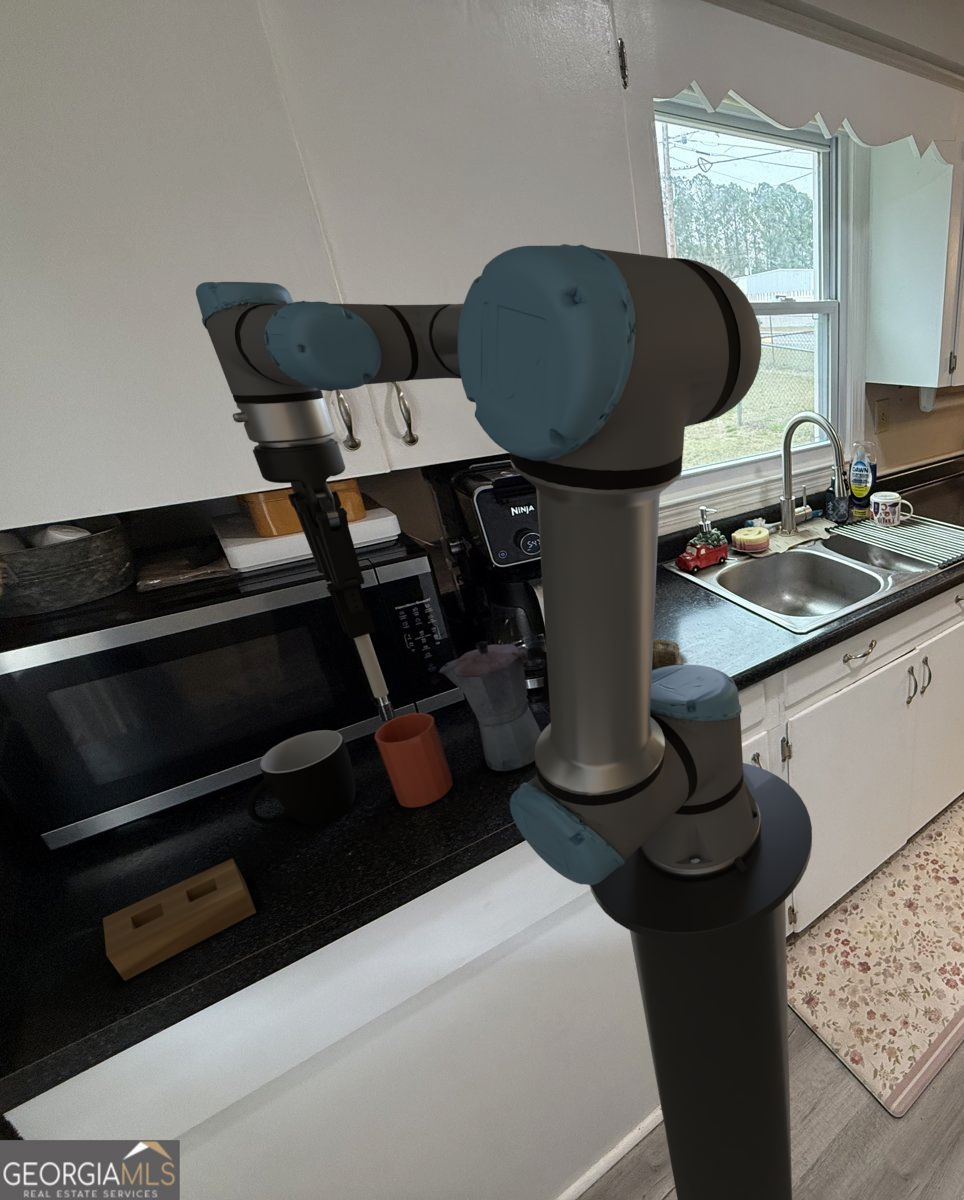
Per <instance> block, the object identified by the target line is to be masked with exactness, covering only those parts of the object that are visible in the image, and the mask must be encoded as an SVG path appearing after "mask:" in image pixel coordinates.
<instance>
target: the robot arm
mask: <svg viewBox="0 0 964 1200" xmlns="http://www.w3.org/2000/svg"><path fill="white" fill-rule="evenodd" d="M195 297H196V299H197V303H198V306H199V310H200V313H201V323H202V326H204V328H205V329H206V331H207V333H208V336H209V339H210V341H211V343H212V346H213V348H214V351H215V354H216V357H217V359H218V362H219V364H220V367H221V369H222V372H223V375H224V377H225V380H226V383H227V385H228V388H229V391H230V393H231V395H232V398H233V402H234V403H235V405H236V408H237V409H238V410H240V412H235V413H233V414H232V418H233V421H234V422H235V423H239V424H241V423H243V427H244V430H245V433H246V435H247V438H248V440H249V441H251V442H253V443H257V445H255V446H254V447H253V449H252V453H253V456H254V458H255V461H256V465H257V466H258V470H259V472H260V474H261V477H262V478H263V479H264V480H265V481H266V482H270V483H275V484H290V486H291V490H292V492H293V493H288V494H287V498H288V500H289V504H290V505H291V507H293V509H294V511H295V514H296V516H297V518H298V521H299V524H300V526H301V528H302V531H303V534H304V536H305V539H306V541H307V544H308V547H309V549H310V552H311V555H312V557H313V558H314V562H315V565H316V570H317V572H318V573H319V574H322V578H323V580H325V582H326V583H327V584H326V587H325V588H326V590H327V592H328V593H329V594H330V598H331V600H332V603H333V605H334V609H335V611H336V614H337V616H338V617H337V618H338V619H339V623H340V625H341V628H342V631H343V633H344V634H347V635H348V638H349V639H350V640H354V638H357V637H360V636H363V635H366V634H369V635H370V634H372V633H376V632H377V631H376V627H375V624H374V620H373V617H372V615H371V612H370V608H369V605H368V603H367V600H366V597H365V593H364V591H363V587H362V585H364V584H365V578H364V575H363V573H362V569H361V566H360V562H359V559H358V555H357V552H356V548H355V545H354V541H353V538H352V533H351V530H350V526H349V521H348V512H347V510H346V509H345V508H344V507H342V501H341V498H340V496H339V494H338V491H332V489H331V487H330V485H329V484H328V481H327V480H328V479H329V478H331V477H336V476H339V475H342V474H343V473H344V472H345V470H346V464H345V462H344V458H343V455H342V452H341V448H340V445H339V442H338V441H336V439H334V438H331V437H332V435H334V433H335V432H336V431H335V428H334V425H333V422H332V419H331V415H330V412H329V409H328V406H327V402H326V399H325V396H324V395H323V392H322V391H325V392H333V391H337V390H339V391H343V390H352V389H357V388H360V387H363V386H366V385H375V384H387V383H397V382H398V383H399V382H409V381H418V380H420V381H421V380H437V379H459V380H461V384H462V387H463V390H464V394H465V396H466V399H467V400H468V401H469V402H471V403H475V410H474V417H475V419H476V421H477V422H478V424H479V426H480V427H481V428H482V430H483V431H484V432H485V434H486V435H487V436H488V438H490V440H492V442H494V443H495V444H496V445H497V446H498V447H500V448H501V449H503V450H504V451H505V452H508V453H509V459H510V464H511V467H512V468H513V470H515V472H516V473H518V474H519V475H520V476H521V477H522V478H524V480H526V481H528V483H530V484H531V485H533V486H534V488H535V489H536V502H537V503H536V504H537V519H538V534H539V535H538V536H539V548H540V549H539V552H540V554H539V555H540V567H541V568H540V569H541V585H542V600H543V601H542V602H543V616H544V617H543V618H544V633H545V652H547V668H548V684H549V699H548V701H549V716H550V723H548V724H547V726H546V727H545V728H544V729H543V730H542V731H541V734H540V736H539V738H538V740H537V743H536V746H535V761H534V766H535V775H534V777H533V778H532V779H531V780H529V781H528V782H526V781H525V782H523V783H521V784H520V785H519V787H518V789H516V790H515V791H514V792H513V793H512V794H511V797H510V798H509V811H510V814H511V817H512V819H513V822H514V824H515V826H516V827H517V829H518V831H519V833H520V834H521V836H522V837H523V838H524V840H525V841H526V842H527V844H528V845H529V846H530V848H531V849H532V850H533V852H535V853H536V854H537V855H538V856H539V858H541V859H542V860H543V862H544V863H546V864H547V865H548V866H549V867H550V868H551V869H552V870H554V871H555V872H556V873H558V874H559V875H561V876H562V877H563V878H565V879H567V880H569V881H571V882H573V883H576V884H578V885H586V886H589V885H593V884H597V883H599V882H601V881H602V880H604V879H605V878H606V877H607V876H608V875H609V874H611V873H612V872H613V871H614V870H615V869H616V868H618V867H621V866H622V865H624V863H625V861H626V860H627V859H628V858H629V857H630V856H631V855H632V854H633V853H634V852H635V851H636V850H637V849H638V848H639V847H640V848H641V852H642V855H643V857H644V859H645V861H646V862H647V864H648V865H649V866H650V867H651V868H652V869H653V870H655V871H656V872H658V873H659V874H661V875H663V876H665V877H668V878H671V879H674V880H679V881H704V880H709V879H713V878H716V877H719V876H722V875H724V874H727V873H729V872H731V871H732V870H734V869H736V868H738V870H739V871H740V873H741V874H744V873H745V872H746V871H747V870H748V869H747V867H746V866H745V864H744V862H745V861H746V860H747V859H748V858H749V857H750V855H751V854H752V853H753V851H754V850H755V848H756V846H757V844H758V841H759V838H760V833H761V824H760V812H759V808H758V806H757V804H756V802H755V800H754V798H753V796H752V794H751V792H750V790H749V788H748V786H747V784H746V782H745V780H744V776H743V763H744V760H743V759H744V758H743V740H742V738H743V737H742V719H741V714H742V706H741V704H740V698H739V689H738V687H737V685H736V683H735V681H734V680H733V678H731V676H729V675H728V674H727V673H725V672H723V671H721V670H719V669H717V668H713V667H712V666H711V667H710V666H705V665H699V664H681V665H672V666H666V667H662V668H658V669H655V670H653V671H652V659H653V640H654V636H655V635H654V634H655V633H654V632H655V612H656V611H655V609H656V591H657V590H656V589H657V588H656V587H657V564H658V545H659V544H658V543H659V522H660V521H659V519H660V518H659V517H660V516H659V515H660V500H661V499H660V498H661V497H660V495H661V494H662V492H664V491H665V490H666V489H668V488H669V487H670V486H672V485H673V484H674V483H675V482H676V481H678V480H679V479H680V477H681V476H682V472H683V458H684V457H683V456H684V446H685V444H684V443H685V430H686V428H687V427H691V426H694V425H700V424H702V423H707V422H710V421H713V420H715V419H717V418H720V417H722V416H723V415H725V414H726V413H728V412H729V411H731V410H732V409H734V408H736V406H737V405H738V404H739V403H740V402H742V400H743V399H744V398H745V397H746V396H747V394H748V393H749V391H750V389H751V388H752V386H753V385H754V383H755V380H756V377H757V375H758V372H759V370H760V363H761V360H762V336H761V329H760V324H759V322H758V321H759V320H758V319H757V316H756V313H755V310H754V308H753V306H752V304H751V303H750V301H749V299H748V297H747V295H746V294H745V292H743V291H742V289H741V288H740V287H739V286H738V285H737V284H736V282H734V281H733V280H732V279H731V278H730V277H728V276H727V275H726V274H725V273H724V272H722V271H720V270H718V269H717V268H715V267H713V266H711V265H708V264H705V263H703V262H701V261H698V260H694V259H688V258H681V257H665V256H657V255H648V254H641V253H633V252H625V251H618V250H610V249H603V248H602V249H601V248H595V247H593V248H592V247H590V246H586V245H585V244H577V245H571V244H567V243H563V244H560V245H522V246H517V247H512V248H510V249H507V250H505V251H503V252H501V253H499V254H498V255H496V256H495V257H493V258H492V259H491V260H490V261H488V263H486V264H485V265H484V268H483V269H482V272H481V274H480V275H479V276H477V277H476V278H475V279H473V281H472V282H471V285H470V287H469V288H468V291H467V294H466V296H465V299H464V301H463V303H440V304H438V303H437V304H385V303H383V304H377V303H376V304H375V303H329V302H327V301H320V300H319V301H305V300H301V301H294V300H293V298H292V295H291V293H290V291H288V289H287V288H286V287H284V286H283V285H281V284H279V283H273V282H272V283H271V282H258V281H249V282H248V281H217V282H215V281H204V282H201V283H199V284H198V285H197V287H196V288H195ZM329 582H330V583H329Z"/></svg>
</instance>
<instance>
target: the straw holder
mask: <svg viewBox="0 0 964 1200" xmlns="http://www.w3.org/2000/svg"><path fill="white" fill-rule="evenodd" d="M256 913H257V910H256V907H255V904H254V902H253V899H252V896H251V893H250V891H249V888H248V885H247V882H246V880H245V879H244V876H243V875H242V873H241V871H240V869H239V867H238V865H237V863H236V861H235V859H234V858H232V857H231V858H229V859H228V860H225V861H223V862H221V863H219V864H217V865H215V866H212V867H210V868H208V869H205V870H204V871H202V872H200V873H198V874H196V875H193V876H191V877H189V878H187V879H184V880H182V881H180V882H178V883H176V884H174V885H172V886H170V887H167V888H166V889H163V890H161V891H159V892H157V893H153V894H152V895H150V896H148V897H146V898H144V899H142V900H140V901H137V902H135V903H133V904H130V905H128V906H126V907H124V908H122V909H120V910H118V911H115V912H114V913H111V914H109V915H107V916H105V917H103V918H102V924H103V933H104V944H105V954H106V957H107V959H108V960H109V961H110V963H111V965H112V966H113V967H114V968H115V969H116V972H118V974H119V975H120V978H122V980H123V981H124V982H125V981H128V980H130V979H132V978H134V977H135V976H137V975H139V974H141V973H143V972H145V971H147V970H149V969H151V968H153V967H155V966H157V965H159V964H161V963H162V962H164V961H166V960H168V959H170V958H172V957H174V956H176V955H177V954H180V953H182V952H183V951H186V950H187V949H189V948H191V947H193V946H195V945H197V944H199V943H201V942H202V941H204V940H207V939H209V938H210V937H213V936H215V935H216V934H218V933H220V932H222V931H223V930H225V929H228V928H230V927H231V926H233V925H235V924H238V923H240V922H241V921H243V920H244V919H247V918H248V917H250V916H252V915H255V914H256Z"/></svg>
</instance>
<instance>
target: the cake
mask: <svg viewBox="0 0 964 1200" xmlns="http://www.w3.org/2000/svg"><path fill="white" fill-rule="evenodd" d="M672 665H684V658H683V656H682V655H680V647H679V644H678V643H677V642H676V641H672V640H669V639H655V640H654V639H653V659H652V671H653V670H655V669H658V668H662V667H666V666H672Z"/></svg>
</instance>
